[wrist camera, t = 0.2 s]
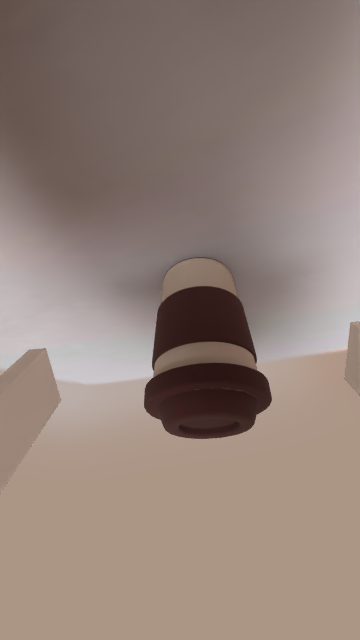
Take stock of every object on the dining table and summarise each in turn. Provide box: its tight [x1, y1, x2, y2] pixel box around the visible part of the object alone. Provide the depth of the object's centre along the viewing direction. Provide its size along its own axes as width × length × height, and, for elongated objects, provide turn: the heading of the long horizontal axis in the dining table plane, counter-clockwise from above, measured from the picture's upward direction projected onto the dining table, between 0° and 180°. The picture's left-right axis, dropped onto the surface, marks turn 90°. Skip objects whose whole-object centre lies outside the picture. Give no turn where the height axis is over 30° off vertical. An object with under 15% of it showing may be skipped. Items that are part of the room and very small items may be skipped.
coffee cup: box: [144, 258, 272, 439], centre depth 27 cm, size 10×10×15 cm
